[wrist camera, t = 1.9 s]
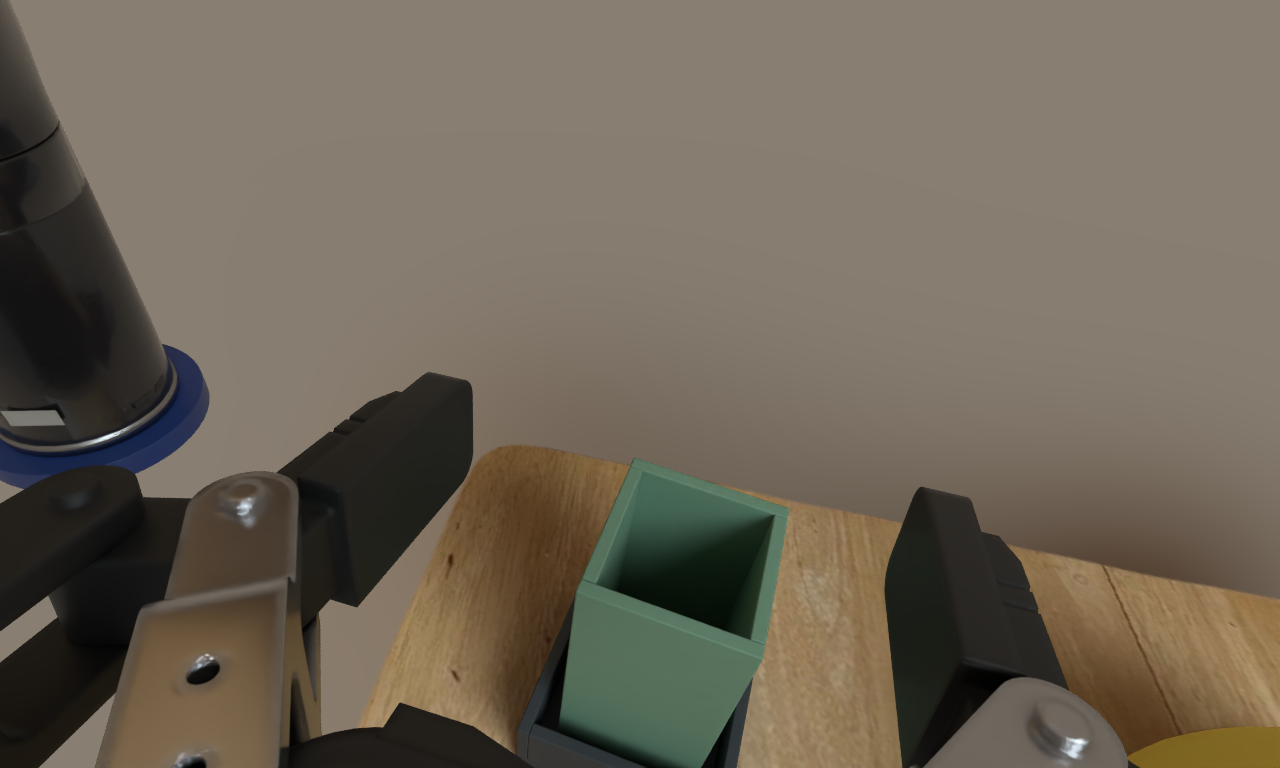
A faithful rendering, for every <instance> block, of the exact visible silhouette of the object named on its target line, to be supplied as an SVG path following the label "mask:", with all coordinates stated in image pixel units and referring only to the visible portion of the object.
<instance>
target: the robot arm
mask: <svg viewBox="0 0 1280 768" xmlns="http://www.w3.org/2000/svg"><path fill="white" fill-rule="evenodd" d="M179 389H180V381H179V377H178V374H177V372H176V369H175V367H174V365H173V363H172V362H171V360H170V359H169V358H168V357H167V355H166V352H165V350H164V348H163V346H162V344H161V341H160V339H159V337H158V335H157V332H156V330H155V328H154V325H153V323H152V321H151V319H150V317H149V314H148V312H147V310H146V308H145V306H144V304H143V301H142V299H141V297H140V295H139V293H138V290H137V288H136V286H135V284H134V282H133V280H132V277H131V275H130V273H129V271H128V268H127V266H126V264H125V262H124V260H123V258H122V255H121V253H120V251H119V249H118V247H117V245H116V243H115V240H114V238H113V236H112V234H111V231H110V229H109V227H108V225H107V223H106V221H105V218H104V216H103V214H102V212H101V210H100V207H99V205H98V203H97V201H96V199H95V196H94V194H93V192H92V190H91V188H90V186H89V183H88V181H87V179H86V177H85V176H84V173H83V171H82V169H81V167H80V165H79V162H78V160H77V158H76V156H75V154H74V151H73V149H72V147H71V145H70V143H69V140H68V138H67V136H66V134H65V132H64V130H63V127H62V125H61V123H60V121H59V119H58V117H57V114H56V112H55V110H54V108H53V106H52V103H51V101H50V99H49V97H48V95H47V93H46V90H45V88H44V85H43V83H42V81H41V78H40V75H39V73H38V70H37V67H36V65H35V62H34V59H33V57H32V54H31V51H30V48H29V46H28V43H27V41H26V38H25V36H24V33H23V31H22V28H21V26H20V23H19V21H18V19H17V17H16V14H15V12H14V10H13V8H12V5H11V3H10V1H9V0H0V440H1V441H2V442H3V443H4V444H5V445H6V446H8V447H9V448H11V449H13V450H15V451H17V452H20V453H23V454H26V455H31V456H38V457H69V456H77V455H82V454H88V453H92V452H96V451H99V450H103V449H106V448H109V447H112V446H114V445H117V444H120V443H122V442H124V441H126V440H129V439H131V438H133V437H135V436H136V435H138V434H140V433H142V432H143V431H145V430H146V429H148V428H149V427H151V426H152V425H153V424H155V423H156V422H157V421H158V420H160V419H161V418H162V417H163V416H164V415H165V414H166V413H167V412H168V410H169V409H170V408H171V407H172V405H173V404H174V402H175V400H176V398H177V396H178V393H179ZM472 395H473V394H472V387H471V384H470V383H469V382H468V381H466V380H462V379H458V378H454V377H449V376H445V375H441V374H437V373H432V372H428V373H426V374H424V375H423V376H421V377H420V378H419V379H418V380H416V381H415V382H414V383H413V384H411V385H410V386H409V387H408V388H407V389H405V390H404V391H403V392H398V391H395V392H392V393H390V394H387V395H385V396H382V397H380V398H377V399H374V400H372V401H369V402H368V403H367V404H365V405H364V406H363V407H361V408H360V409H359V410H357V411H356V412H355V413H354V414H352V415H351V416H350V419H349V420H347V419H346V420H344V421H343V422H342V423H340V424H339V425H338V426H337V427H335V428H334V431H333V432H329V433H327V434H326V435H325V436H323V437H322V438H321V439H320V440H318V441H317V442H316V443H314V444H313V445H312V446H310V447H309V448H308V449H307V450H305V451H304V452H303V453H301V454H300V455H299V456H298V457H296V458H295V459H293V461H291V462H290V463H288V464H287V465H286V466H284V467H283V468H282V469H280V470H279V471H278V472H277V473H274V472H265V471H264V472H263V471H255V472H246V473H240V474H236V475H232V476H228V477H226V478H223V479H220V480H218V481H216V482H213V483H212V484H210V485H208V486H206V487H205V488H203V489H202V490H201V491H199V492H198V493H197V494H196V495H195V496H194V497H193V498H192V499H189V498H148V497H143V496H142V493H141V489H140V486H139V483H138V480H137V477H136V475H135V474H134V473H133V472H132V471H130V470H128V469H126V468H123V467H119V466H112V465H93V466H85V467H80V468H75V469H70V470H67V471H63V472H60V473H57V474H54V475H51V476H49V477H47V478H44V479H42V480H40V481H38V482H36V483H35V484H33V485H31V486H29V487H28V488H26V489H24V490H23V491H21V492H19V493H17V494H16V495H14V496H12V497H11V498H9V499H7V500H6V501H4V502H2V503H0V631H1V630H3V629H4V628H5V627H7V626H8V625H9V624H11V623H12V622H13V621H15V620H16V619H17V618H18V617H20V616H21V615H23V614H24V613H25V612H26V611H28V610H29V609H30V608H32V607H33V606H35V605H36V604H37V603H38V602H40V601H41V600H42V599H44V598H45V597H47V596H49V598H50V600H51V603H52V605H53V607H54V609H55V612H56V614H57V616H58V617H57V618H56V619H55V620H53V621H52V622H51V623H50V624H48V625H47V626H46V627H45V628H43V629H42V630H41V631H40V632H38V633H37V634H36V635H35V636H33V637H32V638H31V639H29V640H28V641H27V642H26V643H24V644H23V645H22V646H21V647H19V648H18V649H17V650H16V651H14V652H13V653H12V654H11V655H9V656H8V657H7V658H5V659H4V660H3V661H2V662H1V663H0V768H38V767H40V766H41V765H42V764H43V763H44V762H45V761H46V760H47V759H48V758H49V757H50V756H51V755H52V754H53V753H54V752H55V751H56V750H57V749H58V748H59V747H60V746H61V745H62V744H63V743H64V742H65V741H66V740H67V739H68V738H69V737H70V736H72V735H73V734H74V733H75V732H76V730H78V729H79V728H80V727H81V726H82V725H83V724H84V723H85V722H86V721H87V720H88V719H89V718H90V717H91V716H92V715H93V714H94V713H95V712H96V711H97V710H98V709H99V708H100V707H101V706H102V705H103V704H104V703H105V702H106V701H107V700H108V699H110V698H111V697H112V696H113V695H114V694H115V693H116V694H115V698H114V702H113V705H112V709H111V712H110V716H109V719H108V723H107V726H106V730H105V734H104V737H103V740H102V744H101V747H100V751H99V754H98V758H97V761H96V765H95V768H534V767H533V766H531V765H530V764H528V763H527V762H525V761H524V760H522V759H521V758H519V757H518V756H516V755H515V754H514V753H512V752H511V751H509V750H508V749H506V748H505V747H503V746H502V745H500V744H499V743H497V742H496V741H494V740H493V739H491V738H490V737H488V736H487V735H485V734H484V733H482V732H481V731H479V730H478V729H476V728H475V727H473V726H471V725H467V724H464V723H461V722H458V721H455V720H452V719H449V718H446V717H443V716H440V715H437V714H434V713H431V712H427V711H424V710H421V709H418V708H415V707H412V706H409V705H406V704H403V703H399V704H398V706H397V707H396V709H395V710H394V712H393V713H392V715H391V716H390V718H389V720H388V721H387V723H386V724H385V726H384V727H383V728H382V727H371V728H357V729H350V730H344V731H339V732H334V733H330V734H327V735H323V736H322V731H321V680H320V679H321V677H320V675H321V670H320V620H319V613H318V612H319V611H320V610H321V609H322V608H323V607H324V605H325V604H326V603H327V602H328V601H329V600H330V599H331V600H334V601H337V602H341V603H344V604H347V605H351V606H354V607H358V606H359V605H360V603H361V602H362V601H363V600H364V599H365V597H366V596H367V595H368V594H369V593H370V592H371V590H372V589H373V588H374V587H375V585H376V584H377V583H378V582H379V581H380V580H381V579H382V577H383V576H384V575H385V574H386V573H387V571H388V570H389V569H390V568H391V567H392V565H393V564H394V563H395V562H396V561H397V560H398V558H399V557H400V556H401V555H402V554H403V553H404V551H405V550H406V549H407V547H409V545H410V544H411V543H412V542H413V541H414V539H415V538H416V537H417V536H418V535H419V534H420V532H421V531H422V530H423V529H424V528H425V526H426V525H427V524H428V523H429V522H430V520H431V519H432V518H433V517H434V516H435V515H436V513H437V512H438V511H439V510H440V509H441V508H442V506H443V505H444V504H445V503H446V502H447V500H448V499H449V498H450V497H451V496H452V495H453V493H454V492H455V491H456V490H457V489H458V487H459V486H460V485H461V484H462V483H463V481H464V479H465V478H466V476H467V474H468V471H469V468H470V465H471V462H472V456H473V401H472V400H473V396H472ZM885 602H886V611H887V621H888V631H889V641H890V650H891V660H892V670H893V680H894V689H895V699H896V709H897V719H898V728H899V738H900V748H901V758H902V767H903V768H1140V767H1138V766H1136V765H1135V764H1133V763H1132V762H1130V761H1129V760H1128V759H1127V754H1126V751H1125V749H1124V746H1123V744H1122V742H1121V740H1120V739H1119V737H1118V735H1117V734H1116V732H1115V731H1114V730H1113V728H1112V727H1111V726H1110V724H1109V723H1108V722H1107V721H1106V720H1105V719H1104V718H1103V717H1102V716H1101V715H1100V714H1099V713H1098V712H1097V711H1096V710H1095V709H1094V708H1093V707H1091V706H1090V705H1089V704H1088V703H1086V702H1085V701H1084V700H1082V699H1081V698H1079V697H1078V696H1076V695H1075V694H1073V693H1072V692H1070V691H1069V689H1068V686H1067V683H1066V681H1065V678H1064V675H1063V673H1062V670H1061V667H1060V665H1059V662H1058V659H1057V657H1056V654H1055V651H1054V649H1053V646H1052V643H1051V641H1050V638H1049V635H1048V633H1047V630H1046V627H1045V625H1044V622H1043V619H1042V617H1041V614H1038V606H1037V603H1036V601H1035V598H1034V595H1033V593H1032V592H1030V585H1029V582H1028V579H1027V577H1026V574H1025V571H1024V569H1023V566H1022V563H1021V561H1020V560H1019V559H1018V558H1017V557H1016V555H1015V554H1014V553H1013V552H1012V551H1011V550H1010V549H1009V547H1008V546H1007V545H1006V544H1005V543H1004V542H1003V541H1002V540H1001V538H1000V537H999V536H996V535H992V534H988V533H984V532H981V530H980V527H979V524H978V520H977V517H976V514H975V511H974V508H973V504H972V502H971V500H970V499H969V498H968V497H964V496H960V495H955V494H951V493H947V492H942V491H938V490H933V489H929V488H925V487H920V488H919V489H918V490H917V491H916V493H915V495H914V497H913V499H912V502H911V504H910V507H909V510H908V512H907V515H906V517H905V520H904V522H903V525H902V528H901V530H900V533H899V535H898V538H897V540H896V543H895V546H894V548H893V551H892V553H891V556H890V559H889V563H888V567H887V572H886V578H885Z"/></svg>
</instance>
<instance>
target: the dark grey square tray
mask: <svg viewBox="0 0 1280 768" xmlns="http://www.w3.org/2000/svg"><path fill="white" fill-rule="evenodd" d="M574 602H575V597H574V599H573V602H572V604H571V606H570V609H569V611H568V613H567V616H566V618H565V620H564V622H563V625H562V627H561V629H560V632H559V634H558V636H557V639H556V641H555V643H554V646H553V648H552V650H551V652H550V655H549V657H548V659H547V662H546V664H545V666H544V669H543V671H542V673H541V676H540V678H539V680H538V682H537V685H536V687H535V689H534V692H533V694H532V696H531V699H530V701H529V703H528V705H527V708H526V710H525V712H524V715H523V717H522V719H521V722H520V724H519V726H518V729H517V756H518V757H519V758H521V759H522V760H524V761H525V762H527V763H528V764H530V765H531V766H533V767H535V768H646V767H644V766H641V765H639V764H636V763H634V762H631V761H629V760H626V759H624V758H621V757H619V756H616V755H614V754H611V753H608V752H606V751H603V750H601V749H598V748H596V747H593V746H591V745H588V744H586V743H583V742H581V741H578V740H576V739H573V738H571V737H568V736H565V735H563V734H560V733H558V726H559V718H560V710H561V703H562V695H563V687H564V679H565V672H566V664H567V656H568V649H569V641H570V633H571V626H572V618H573V610H574ZM752 680H753V677H752V679H751V681H750V683H749V684H748V686H747V688H746V690H745V691H744V693H743V695H742V697H741V698H740V700H739V702H738V704H737V705H736V707H735V709H734V711H733V712H732V714H731V716H730V718H729V719H728V721H727V723H726V725H725V726H724V728H723V730H722V732H721V733H720V735H719V737H718V739H717V740H716V742H715V744H714V746H713V747H712V749H711V751H710V753H709V754H708V756H707V758H706V760H705V761H704V763H703V765H702V767H701V768H736V767H737V762H738V756H739V751H740V745H741V740H742V735H743V729H744V724H745V718H746V713H747V707H748V702H749V696H750V691H751V686H752Z"/></svg>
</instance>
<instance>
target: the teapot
mask: <svg viewBox="0 0 1280 768" xmlns="http://www.w3.org/2000/svg"><path fill="white" fill-rule="evenodd" d="M1127 759H1128V760H1129V761H1130V762H1132V763H1133V764H1135V765H1136V766H1138V767H1140V768H1280V727H1228V728H1219V729H1211V730H1204V731H1199V732H1194V733H1189V734H1184V735H1180V736H1175V737H1171V738H1167V739H1163V740H1161V741H1159V742H1156V743H1154V744H1152V745H1150V746H1147V747H1145V748H1143V749H1141V750H1139V751H1136V752H1134V753H1132V754H1130V755H1129V756H1127Z"/></svg>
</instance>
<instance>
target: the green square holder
mask: <svg viewBox="0 0 1280 768" xmlns="http://www.w3.org/2000/svg"><path fill="white" fill-rule="evenodd" d="M788 514H789V508H786V507H783V506H780V505H777V504H774V503H771V502H768V501H765V500H762V499H759V498H756V497H753V496H750V495H747V494H744V493H741V492H738V491H735V490H731V489H728V488H725V487H722V486H719V485H716V484H713V483H710V482H707V481H704V480H701V479H698V478H695V477H692V476H689V475H685V474H683V473H680V472H677V471H674V470H671V469H667V468H665V467H662V466H659V465H656V464H653V463H649V462H646V461H643V460H640V459H637V458H634V459H633V461H632V463H631V466H630V468H629V470H628V473H627V475H626V477H625V480H624V482H623V484H622V486H621V489H620V491H619V493H618V496H617V498H616V500H615V503H614V505H613V507H612V509H611V512H610V514H609V516H608V519H607V521H606V523H605V525H604V528H603V530H602V532H601V535H600V537H599V539H598V542H597V544H596V546H595V548H594V551H593V553H592V555H591V558H590V560H589V562H588V565H587V567H586V569H585V571H584V574H583V576H582V580H581V581H580V583H579V585H578V588H577V590H576V595H575V602H574V610H573V618H572V626H571V633H570V641H569V649H568V656H567V664H566V672H565V679H564V687H563V695H562V703H561V710H560V718H559V726H558V733H560V734H563V735H565V736H568V737H571V738H573V739H576V740H578V741H581V742H583V743H586V744H588V745H591V746H593V747H596V748H598V749H601V750H603V751H606V752H608V753H611V754H614V755H616V756H619V757H621V758H624V759H626V760H629V761H631V762H634V763H636V764H639V765H641V766H644V767H646V768H701V767H702V765H703V763H704V761H705V760H706V758H707V756H708V754H709V753H710V751H711V749H712V747H713V746H714V744H715V742H716V740H717V739H718V737H719V735H720V733H721V732H722V730H723V728H724V726H725V725H726V723H727V721H728V719H729V718H730V716H731V714H732V712H733V711H734V709H735V707H736V705H737V704H738V702H739V700H740V698H741V697H742V695H743V693H744V691H745V690H746V688H747V686H748V684H749V683H750V681H751V679H752V677H753V676H754V674H755V672H756V670H757V669H758V667H759V665H760V663H761V662H762V660H763V657H764V651H765V644H766V639H767V634H768V628H769V622H770V617H771V611H772V605H773V600H774V594H775V588H776V583H777V577H778V571H779V565H780V560H781V554H782V548H783V543H784V537H785V531H786V526H787V519H788Z"/></svg>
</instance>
